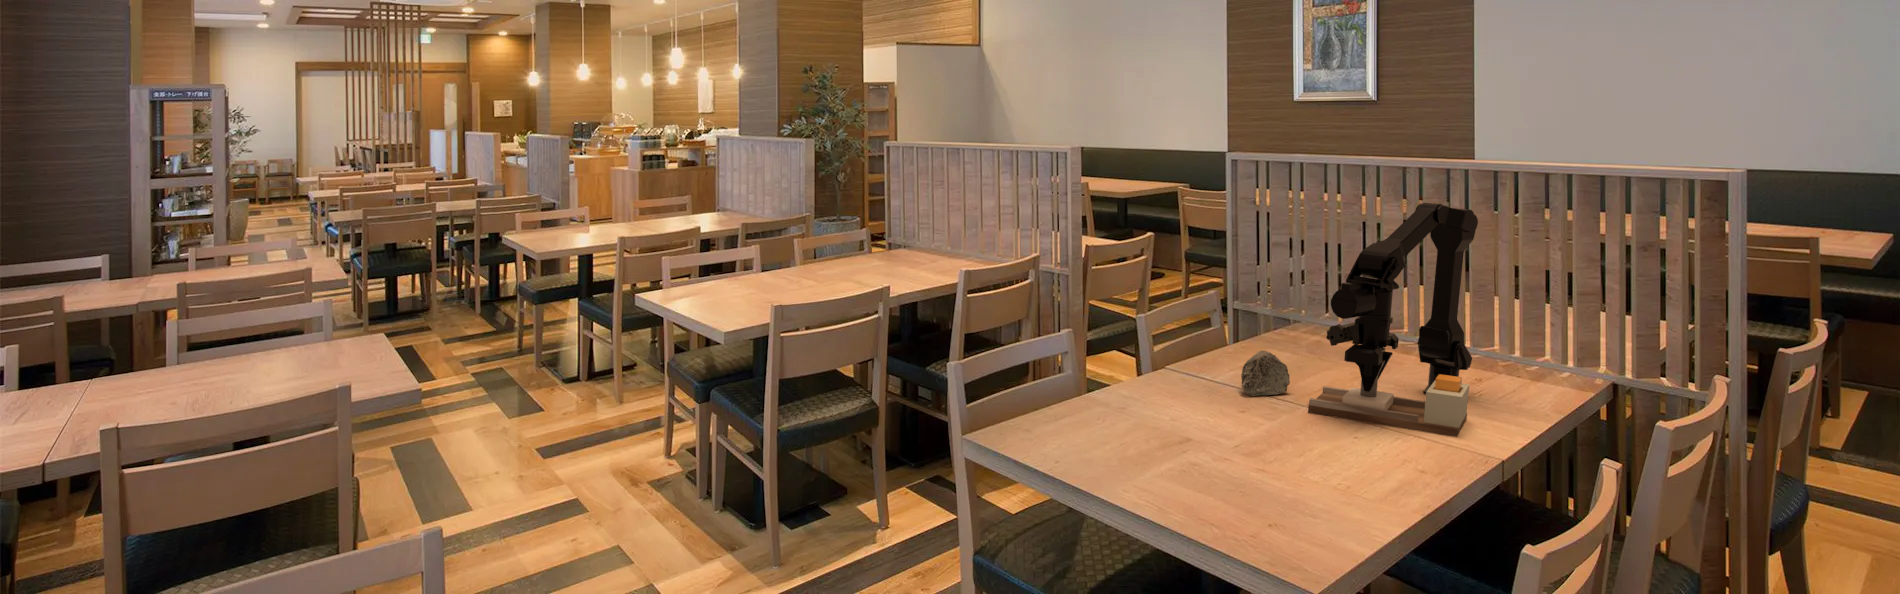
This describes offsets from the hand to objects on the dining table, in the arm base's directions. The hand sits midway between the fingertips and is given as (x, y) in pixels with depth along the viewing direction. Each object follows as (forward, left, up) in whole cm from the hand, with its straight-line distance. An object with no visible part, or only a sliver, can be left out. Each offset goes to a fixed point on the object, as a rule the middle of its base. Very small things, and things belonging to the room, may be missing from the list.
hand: (1369, 389), depth 194 cm
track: (0, +4, -5) cm, 6 cm away
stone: (-4, -22, -5) cm, 23 cm away
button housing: (0, +14, -4) cm, 15 cm away
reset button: (0, +14, -1) cm, 14 cm away
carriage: (0, 0, -3) cm, 3 cm away
